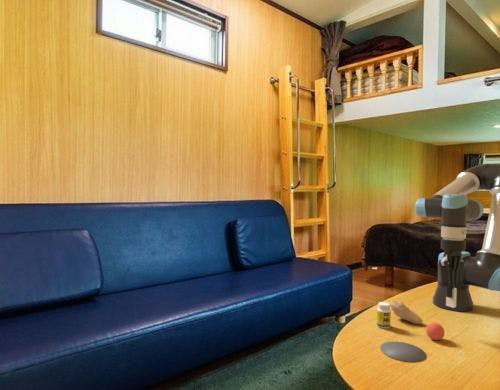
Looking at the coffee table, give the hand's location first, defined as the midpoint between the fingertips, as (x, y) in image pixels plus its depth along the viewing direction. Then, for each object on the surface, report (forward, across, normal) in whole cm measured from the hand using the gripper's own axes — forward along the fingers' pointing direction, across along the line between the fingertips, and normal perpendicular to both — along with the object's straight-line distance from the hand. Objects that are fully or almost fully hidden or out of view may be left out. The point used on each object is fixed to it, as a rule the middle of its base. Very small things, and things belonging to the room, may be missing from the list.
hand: (450, 306), depth 122 cm
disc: (+10, -26, 0) cm, 28 cm away
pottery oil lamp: (+10, -3, +15) cm, 18 cm away
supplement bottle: (+10, -15, +16) cm, 24 cm away
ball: (+7, -9, 0) cm, 11 cm away
